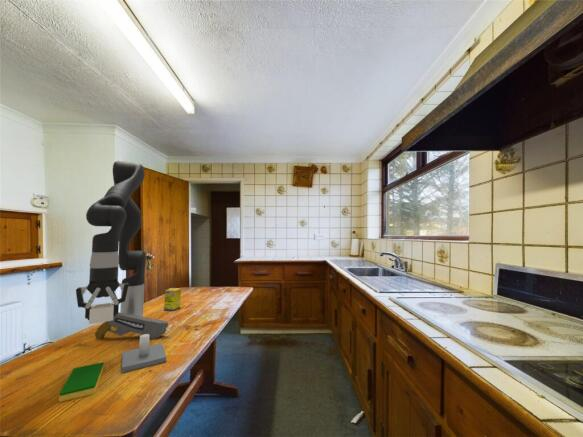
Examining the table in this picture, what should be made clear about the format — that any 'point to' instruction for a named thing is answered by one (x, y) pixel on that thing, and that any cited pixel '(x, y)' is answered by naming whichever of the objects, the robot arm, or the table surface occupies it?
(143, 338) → the post stand
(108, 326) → the gun
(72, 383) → the dish sponge
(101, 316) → the ring
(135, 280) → the robot arm
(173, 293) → the supplement box
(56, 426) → the table surface
